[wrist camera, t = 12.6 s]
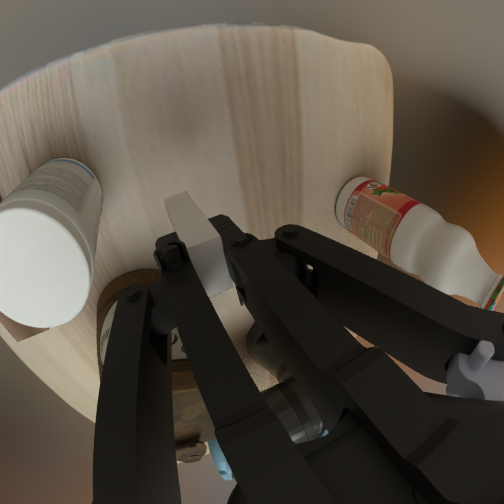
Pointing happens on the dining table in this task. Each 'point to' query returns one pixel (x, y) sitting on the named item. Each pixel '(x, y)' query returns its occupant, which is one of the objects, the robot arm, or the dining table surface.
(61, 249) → the supplement tub
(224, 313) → the dining table surface
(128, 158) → the dining table surface
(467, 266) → the fruit juice
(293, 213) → the dining table surface
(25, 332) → the bench stop
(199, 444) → the wooden container
